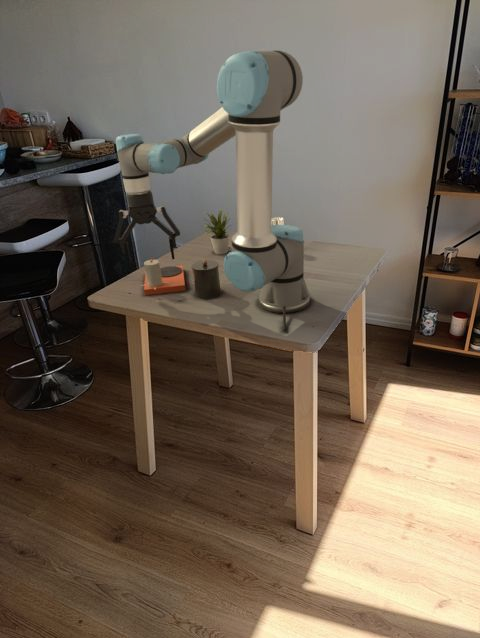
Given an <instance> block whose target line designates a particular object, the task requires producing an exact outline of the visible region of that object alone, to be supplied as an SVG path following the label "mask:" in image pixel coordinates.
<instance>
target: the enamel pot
mask: <svg viewBox="0 0 480 638" xmlns="http://www.w3.org/2000/svg"><path fill="white" fill-rule="evenodd" d="M191 269H192V270H191V271H192V277H193V286H194V291H195V292H194V293H195V296H196V297H197V298H198V299H203V300H211V299H214V298H217V297H219V296H220V295H221V294H222V292H221V291H222V290H221V289H222V288H221V282H220V281H221V280H220V271H219V262H218V261H217V260H213V259H203V260H197V261H195V262H193V263H192V264H191Z"/></svg>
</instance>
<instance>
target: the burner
mask: <svg viewBox="0 0 480 638" xmlns="http://www.w3.org/2000/svg"><path fill="white" fill-rule="evenodd" d="M175 266H176V265H175ZM175 266H174V265H172V266H163V267H160V271H161V276H162V277H172V276H176V275H178V274H180V273H181V272H182V269H181V268H180V267H175Z"/></svg>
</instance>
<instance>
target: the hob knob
mask: <svg viewBox="0 0 480 638" xmlns="http://www.w3.org/2000/svg"><path fill="white" fill-rule="evenodd" d="M160 265H161V264H160V261H159V260H158V259H153V258H150V259H149V260H146V261H144V262H143V266H144V274H145V273H146V278H147V284H148V286H149V287H157V286H160V285H162V284H163V282H162V276H161V271H160V268H161V266H160Z"/></svg>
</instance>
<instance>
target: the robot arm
mask: <svg viewBox="0 0 480 638" xmlns="http://www.w3.org/2000/svg"><path fill="white" fill-rule="evenodd" d="M303 78H304V77H303V71H302V68H301V65H300V64H299V62H298V60H297V59H296V58H295V57H294V56H293V55H292V54H290V53H288V52H287V51H283V50H247V51H246V50H245V51H243V52H238V53H237V52H236V53H235V54H232V55H231V56H229V57H228V58H227V59H226V61H225V62H224V63H223V64H222V66H221V67H220V69H219V71H218V75H217V81H216V93H217V94H216V95H217V98H218V101H219V103H220V104H221V105H222V106H221V108H219V109H218V110H217V111H216V112H214V113H213V114H212V115H210V116H208V117H207V118H206V119H204V120H203V121H202V122H201V123H200V124H198V125H196V127H194V128H193V129H192V130H190V131H189V132H188V133H186V134H185V135H184V136H182V137H179V138H175V139H170V140H165V141H160V142H153V143H152V142H151V143H150V142H145V141H144V139H143V136H142V134H138V133H129V134H121V135H118V136H116V138H115V146H116V154H117V157H118V162H119V167H120V172H121V175H122V182H123V186H124V191H125V193H126V195H125V197H126V202H127V206H128V210H123V209H120V210H119V211H118V223H117V227H116V230H115V233H114V236H113V243H114V244H119V245H120V249H121V253H122V255H126V259H127V264H128V265H132V257H131V253H130V249H129V244H128V241H127V239H128V238H129V236H130V234H131V233H132V231H133V229H134V227H135V226H136V225H137V224H138V225H139V226H140V225H144V224H146V225H147V224H151V223H153V224H154V225H156V226H157V227H158V228H159V229H161V230H162V231H163V232H164V233H165V234H166V235H167V236H168V242H169V249H170V254H171V260H175V259H176V258H175V251H174V249H177V241H176V237H179V236H180V235H181V231H180V229H179V228H178V226H177V225H176V224H175V222H174V221H173V219H172V218H171V216H170V215H169V213H168V212H167V209H166V206H165V205H164V204H162V205H161V206H157V207H156V205H155V202H154V197H153V195H154V194H153V192H152V191H151V189H152V185H151V179H150V174H149V173H152V174H153V173H154V174H160V175H165V174H167V175H168V174H174V173H175V172H176V170H178V169H179V168H184V167H188V166H191V165H197V164H200V163H202V162H204V161H206V160H207V159H208V157H209V155H210V154H211V153H212V152H213V151H215V150H216V149H218V148H220V147H221V146H222V145H224V144H225V143H227V142H228V141H229V140H231V139H233V138H234V137H235V169H236V170H235V173H236V177H235V178H236V224H237V226H236V228H237V229H236V230H237V231H236V232H235V233H234V234H233V235H232V236H231V251H228V252H227V253H226V254H227V255H225V256H224V259H223V270H224V271H223V272H224V274H225V276H226V278H227V279H228V281H229V282H230V283H231V285H232V286H233V287H235V288H236V289H237V290H239V291H242V292H245V293H252V292H255V291H257V290H260V292H259V295H258V303H259V306H260V308H262V309H263V310H265V311H267V312H271V313H276V314H282V331H283V332H286V330H287V321H286V320H287V317H286V315H287V313H288V314H289V313H290V314H291V313H295V312H300V311H303V310H304V309H305V308H308V306H309V305H310V302H311V294H310V292H309V289H308V286H307V283H306V280H305V277H304V275H305V274H304V273H305V272H304V271H305V268H304V267H305V266H304V262H305V261H304V258H305V257H304V255H305V253H304V252H305V251H304V250H305V249H304V247H305V246H304V244H305V240H304V231H303V229H301V228H300V227H298V226H295V225H288V224H285V225H271V219H272V211H273V209H272V207H273V206H272V205H273V158H274V157H273V156H274V153H273V152H274V130H275V129H276V128H277V127H278V126H279V125H280V123H281V111H283V110H284V109H286V108H288V107H290V106H291V105H292V104H293V103H295V101H297V99H298V97H299V96H300V94H301V91H302V88H303V85H304V84H303V81H304V80H303ZM157 213H159V215H162V216H163V218H164V220H165V221H166V222H167V223H168V225H169V226H170V228H171V229H170V228H169V227H168V226H166V225H165V224H164V222H162V221H161V220H160V219H159V218H158V217H157V216H156V214H157ZM127 216H128V217H130V218H131V220H130V223H129V224H128V226H127V228H126V230H125V231H124V233H123V235H122V236H121V237H120V234H121V230H122V228H123V223H124V221H125V219H126V218H127Z"/></svg>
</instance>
